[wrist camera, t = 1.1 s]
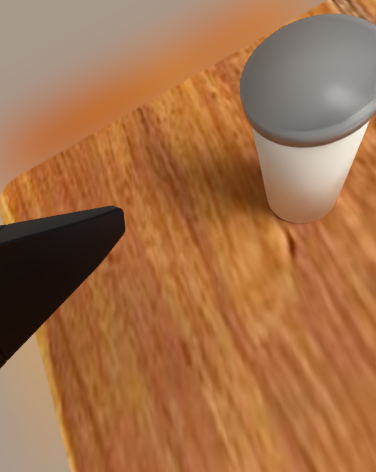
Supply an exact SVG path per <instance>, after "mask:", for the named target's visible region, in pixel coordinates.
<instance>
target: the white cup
mask: <svg viewBox="0 0 376 472" xmlns="http://www.w3.org/2000/svg"><path fill="white" fill-rule="evenodd" d="M240 95H241V100H242V104H243V108H244V113H245V115H246V118H247V120H248V122H249V123H250V125H251V126H252V129H253V134H254V138H255V143H256V148H257V153H258V158H259V163H260V168H261V172H262V177H263V182H264V187H265V192H266V197H267V202H268V204H269V206H270V208H271V210H272V211H273V212H274V213H275V214H276V215H277V216H278V217H279V218H281V219H283V220H285V221H287V222H290V223H295V224H307V223H312V222H315V221H317V220H319V219H321V218H323V217H324V216H326V215H327V214H328V213H329V212H330V211H331V210H332V209H333V207H334V206H335V204H336V202H337V199H338V197H339V194H340V192H341V189H342V187H343V184H344V182H345V180H346V177H347V175H348V172H349V170H350V167H351V165H352V162H353V160H354V158H355V155H356V153H357V150H358V148H359V145H360V143H361V140H362V138H363V135H364V133H365V131H366V128H367V126H368V123H369V121H370V119H371V118H372V117H373V116H374V115H375V114H376V25H374V24H373V23H371V22H369V21H367V20H364V19H362V18H359V17H355V16H351V15H344V14H324V15H316V16H311V17H307V18H304V19H300V20H298V21H295V22H293V23H290V24H288V25H286V26H284V27H282V28H281V29H279V30H277V31H276V32H274V33H273V34H272V35H270V36H269V37H268V38H266V39H265V40H264V41H263V42H262V43H261V44H260V45H259V46H258V47H257V48H256V49H255V50H254V52H253V53H252V55H251V56H250V57H249V59H248V61H247V63H246V65H245V67H244V69H243V72H242V76H241V81H240Z"/></svg>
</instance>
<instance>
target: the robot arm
mask: <svg viewBox="0 0 376 472" xmlns="http://www.w3.org/2000/svg"><path fill="white" fill-rule="evenodd" d="M124 232H125V220H124V212H123V210H122V209H121V208H118V207H115V206H106V207H101V208H95V209H90V210H84V211H79V212H73V213H68V214H62V215H56V216H51V217H45V218H40V219H34V220H29V221H23V222H17V223H12V224H8V225H1V226H0V368H1V367H2V366H3V365H4V364H5V363H6V361H7V360H9V359H10V358H11V356H13V354H14V353H15V352H16V351H17V350H18V349H19V348H20V347H21V346H22V345H23V344H24V343H25V342H26V341H27V340H28V339H29V338H30V337H31V336H32V335H33V334H34V333H35V332H36V331H37V329H38V328H39V327H40V326H41V325H42V324H43V323H44V322H45V321H46V320H47V319H48V318H49V317H50V316H51V315H52V314H53V313H54V312H55V311H56V310H57V309H58V308H59V307H60V305H61V304H62V303H63V302H64V301H65V300H66V299H67V298H68V297H69V296H70V295H71V294H72V293H73V292H74V291H75V290H76V289H77V288H78V287H79V286H80V285H81V284H82V283H83V282H84V280H85V279H86V278H87V277H88V276H89V275H90V274H91V273H92V272H93V271H94V270H95V269H96V268H97V267H98V266H99V265H100V264H101V262H102V261H103V260H104V259H105V257H106V256H107V255H108V254H109V252H110V251H111V250H112V248H113V247H114V246H115V245H116V243H117V242H118V241H119V240H120V238H121V237H122V236H123V234H124Z"/></svg>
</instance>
